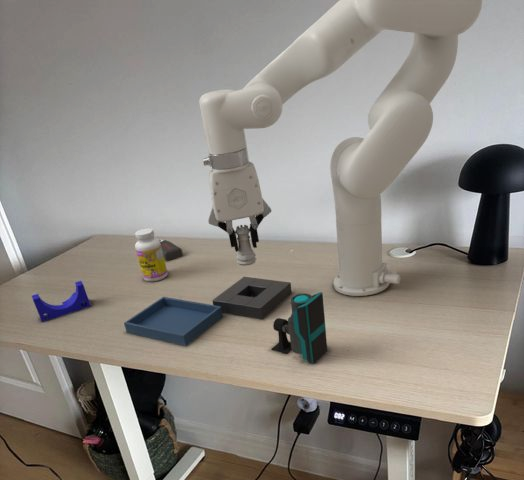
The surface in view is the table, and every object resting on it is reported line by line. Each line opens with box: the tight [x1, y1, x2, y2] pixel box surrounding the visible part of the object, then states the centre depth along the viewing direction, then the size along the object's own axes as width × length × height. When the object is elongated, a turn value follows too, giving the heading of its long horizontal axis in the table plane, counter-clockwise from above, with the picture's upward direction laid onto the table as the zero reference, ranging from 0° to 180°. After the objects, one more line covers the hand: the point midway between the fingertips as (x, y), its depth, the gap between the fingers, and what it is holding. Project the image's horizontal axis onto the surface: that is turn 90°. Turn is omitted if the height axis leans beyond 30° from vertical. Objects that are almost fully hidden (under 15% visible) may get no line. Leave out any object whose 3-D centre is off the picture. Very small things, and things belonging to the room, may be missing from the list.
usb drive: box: [160, 239, 184, 262], centre depth 155 cm, size 5×12×3 cm, turn 30°
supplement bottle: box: [134, 227, 168, 282], centre depth 137 cm, size 7×7×13 cm
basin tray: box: [123, 296, 224, 347], centre depth 115 cm, size 17×13×2 cm
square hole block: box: [211, 276, 293, 320], centre depth 118 cm, size 13×13×3 cm
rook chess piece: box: [235, 224, 257, 266], centre depth 112 cm, size 4×4×8 cm
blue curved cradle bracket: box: [31, 280, 92, 323], centre depth 129 cm, size 12×4×6 cm, turn 117°
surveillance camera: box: [271, 291, 328, 364], centre depth 95 cm, size 6×12×10 cm
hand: (245, 246), depth 112 cm, fingers closed on rook chess piece, 3 cm apart
